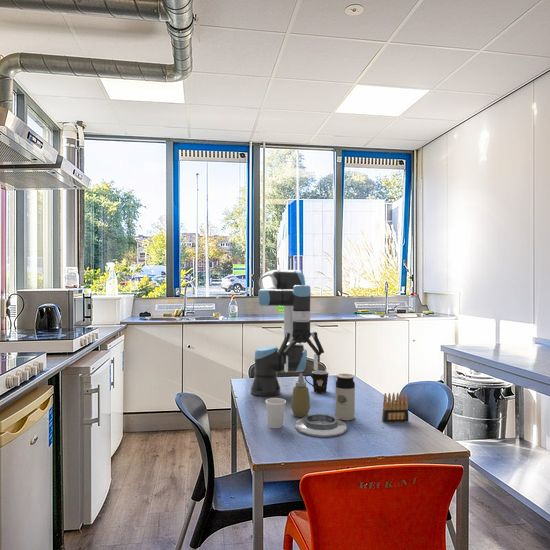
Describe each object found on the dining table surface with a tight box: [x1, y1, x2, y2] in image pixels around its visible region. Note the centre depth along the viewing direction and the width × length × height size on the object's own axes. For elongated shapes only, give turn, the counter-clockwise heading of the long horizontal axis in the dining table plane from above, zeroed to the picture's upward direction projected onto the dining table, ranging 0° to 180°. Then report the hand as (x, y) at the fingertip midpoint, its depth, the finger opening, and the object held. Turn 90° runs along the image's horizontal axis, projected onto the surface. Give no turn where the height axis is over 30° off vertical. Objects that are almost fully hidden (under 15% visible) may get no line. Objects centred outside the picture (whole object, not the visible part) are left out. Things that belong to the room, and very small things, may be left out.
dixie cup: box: [265, 397, 287, 429], centre depth 174 cm, size 8×8×10 cm
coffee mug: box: [304, 370, 329, 394], centre depth 229 cm, size 12×9×10 cm
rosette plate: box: [294, 413, 347, 438], centre depth 172 cm, size 20×20×4 cm
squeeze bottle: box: [291, 372, 311, 418], centre depth 188 cm, size 8×8×18 cm
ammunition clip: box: [381, 392, 410, 423], centre depth 181 cm, size 11×2×12 cm, turn 97°
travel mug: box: [335, 372, 356, 421], centre depth 185 cm, size 8×8×18 cm
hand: (301, 370), depth 187 cm, fingers open, 13 cm apart
